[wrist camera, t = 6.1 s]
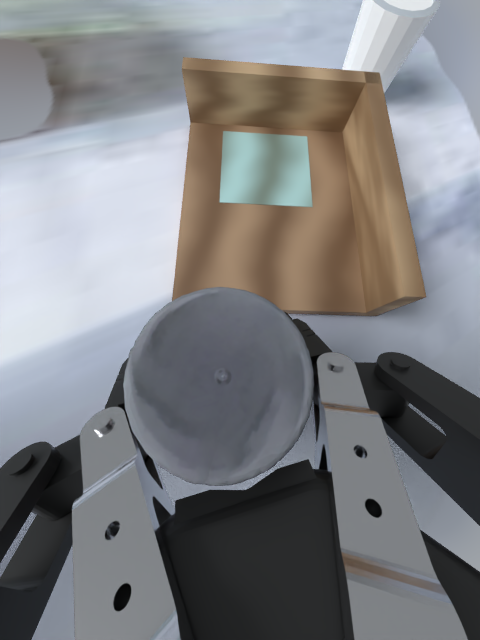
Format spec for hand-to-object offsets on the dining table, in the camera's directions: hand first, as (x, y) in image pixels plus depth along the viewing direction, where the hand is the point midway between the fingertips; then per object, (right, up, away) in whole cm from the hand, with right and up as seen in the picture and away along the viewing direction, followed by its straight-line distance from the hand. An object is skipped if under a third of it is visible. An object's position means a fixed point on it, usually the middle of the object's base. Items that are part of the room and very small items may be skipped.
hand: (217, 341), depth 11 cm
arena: (+5, +12, +10) cm, 17 cm away
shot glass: (+16, +29, +15) cm, 37 cm away
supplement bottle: (0, -3, +4) cm, 5 cm away
